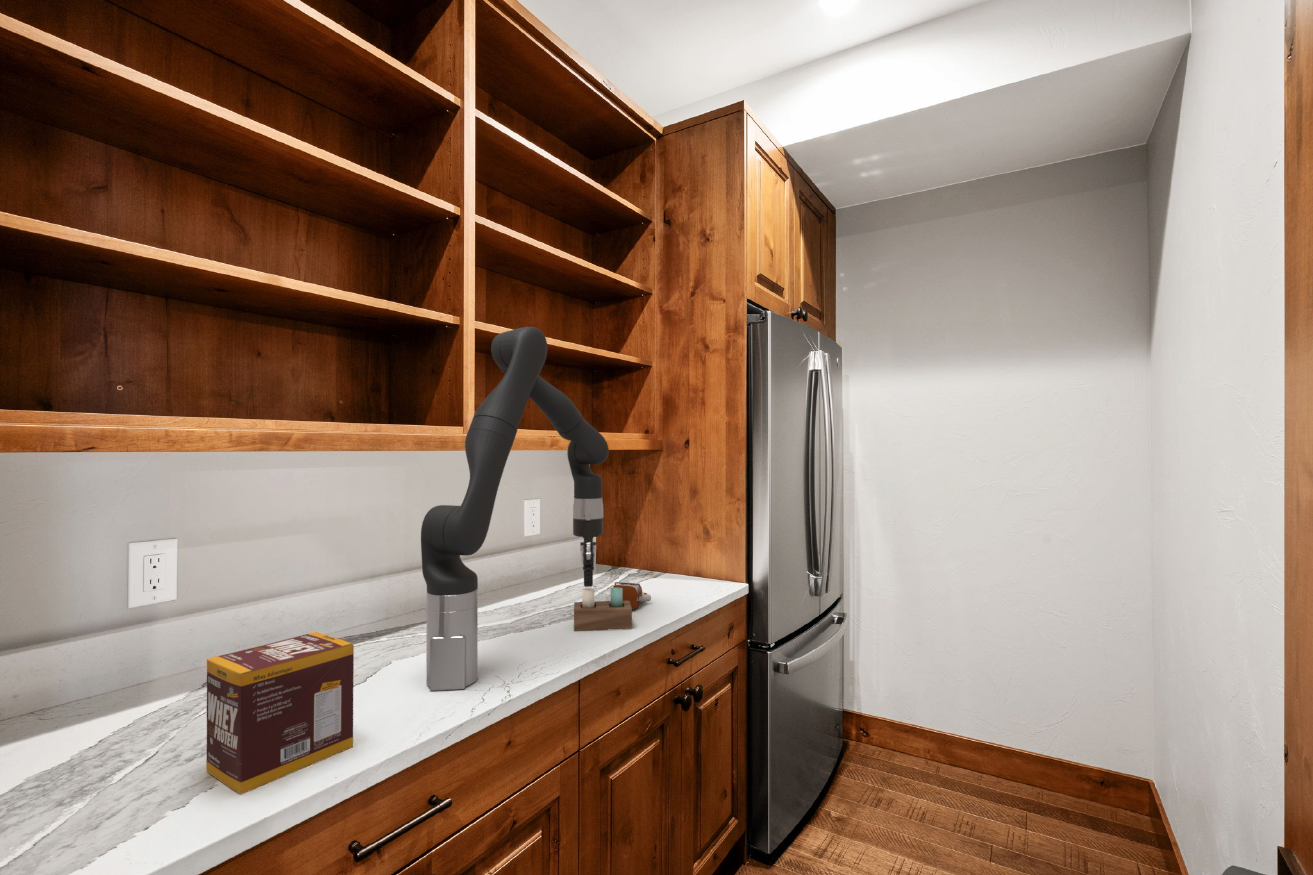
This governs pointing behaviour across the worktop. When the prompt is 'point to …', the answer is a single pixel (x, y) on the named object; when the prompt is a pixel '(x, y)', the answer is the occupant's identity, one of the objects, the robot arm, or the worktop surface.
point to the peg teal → (616, 597)
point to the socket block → (602, 616)
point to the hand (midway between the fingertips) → (588, 585)
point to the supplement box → (278, 708)
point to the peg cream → (588, 598)
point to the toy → (633, 593)
